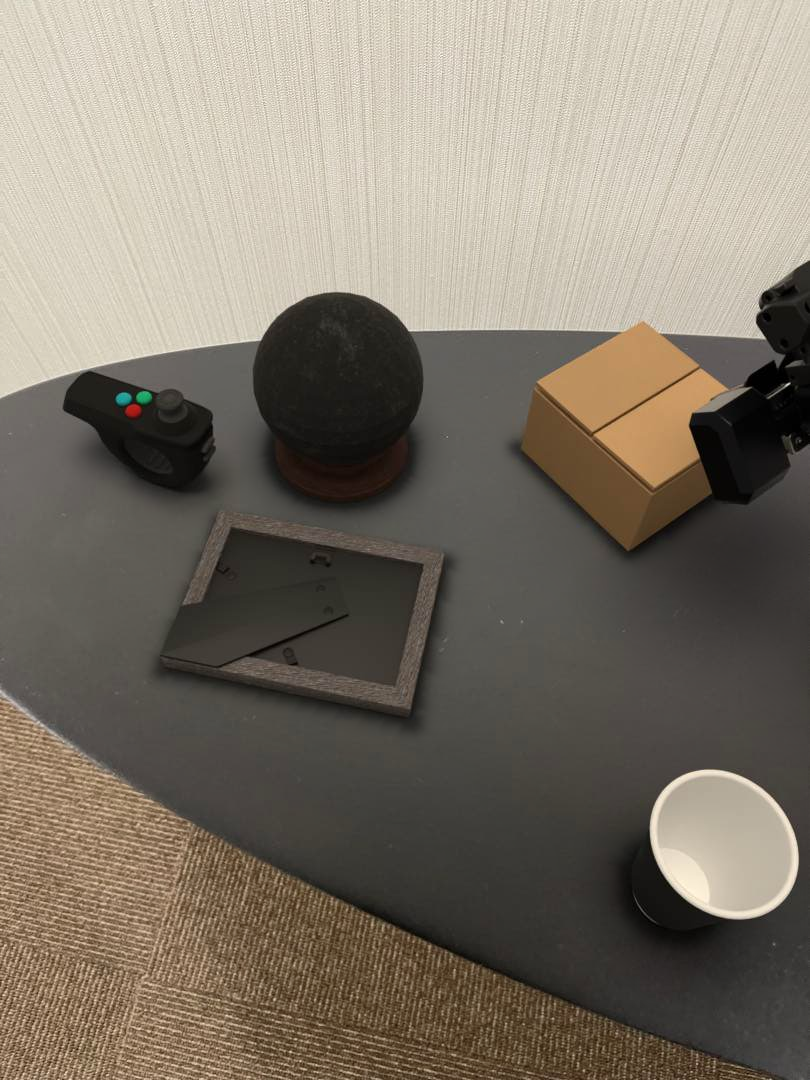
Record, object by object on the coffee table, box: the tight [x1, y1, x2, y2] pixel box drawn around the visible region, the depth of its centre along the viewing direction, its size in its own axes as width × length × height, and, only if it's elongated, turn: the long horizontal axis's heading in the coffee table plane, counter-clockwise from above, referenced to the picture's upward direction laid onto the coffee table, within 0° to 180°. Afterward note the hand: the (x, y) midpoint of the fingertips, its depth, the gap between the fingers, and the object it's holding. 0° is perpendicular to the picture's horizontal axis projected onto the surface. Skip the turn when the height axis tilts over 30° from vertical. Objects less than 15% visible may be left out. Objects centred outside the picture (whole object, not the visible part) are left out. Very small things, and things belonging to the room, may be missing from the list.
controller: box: [62, 370, 217, 487], centre depth 71 cm, size 4×12×10 cm, turn 67°
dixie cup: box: [630, 769, 800, 932], centre depth 53 cm, size 8×8×11 cm
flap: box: [593, 367, 730, 491], centre depth 69 cm, size 6×12×1 cm, turn 127°
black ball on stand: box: [252, 291, 424, 504], centre depth 71 cm, size 13×13×15 cm
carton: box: [520, 320, 713, 552], centre depth 74 cm, size 13×12×8 cm
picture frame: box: [159, 508, 446, 719], centre depth 67 cm, size 13×2×18 cm
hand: (714, 403), depth 65 cm, fingers closed
